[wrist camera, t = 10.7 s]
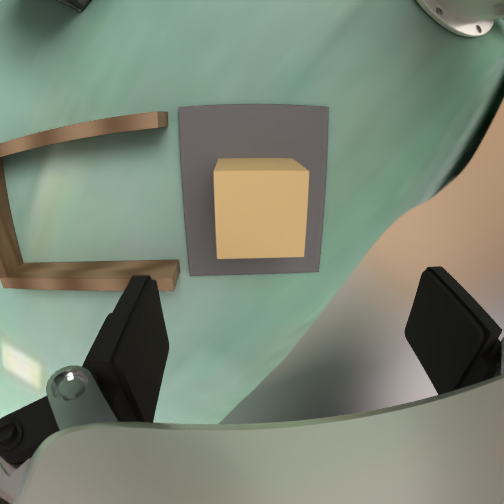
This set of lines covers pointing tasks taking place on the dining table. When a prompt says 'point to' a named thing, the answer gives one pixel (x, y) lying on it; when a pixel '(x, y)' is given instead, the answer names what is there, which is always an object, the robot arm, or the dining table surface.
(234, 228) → the ochre cube
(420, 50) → the dining table surface
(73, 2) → the small box
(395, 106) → the dining table surface
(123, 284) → the walnut cubby
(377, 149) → the dining table surface
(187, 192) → the charcoal mat
